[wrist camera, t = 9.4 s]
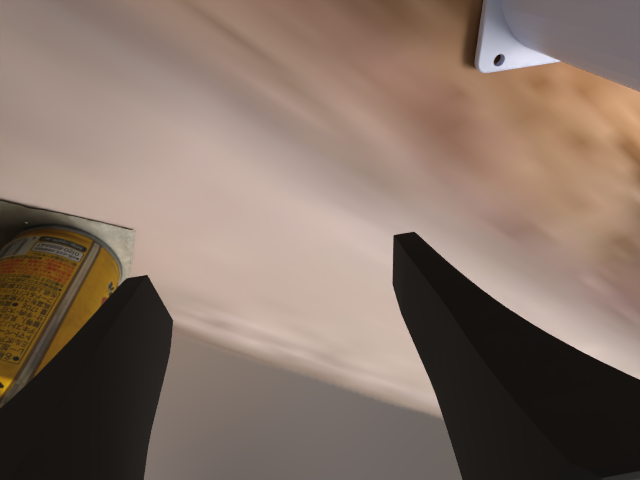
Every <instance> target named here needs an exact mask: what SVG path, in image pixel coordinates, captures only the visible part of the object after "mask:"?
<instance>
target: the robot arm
mask: <svg viewBox="0 0 640 480" xmlns="http://www.w3.org/2000/svg"><path fill="white" fill-rule="evenodd" d="M499 54H500V55H501V58H500V60H499V61H498V63H496V64H494V59H495V57H496V56H497V55H499ZM556 62H564V63H567V64H569V65H572V66H575V67H577V68H580V69H582V70H585V71H588V72H590V73H593V74H595V75H598V76H600V77H603V78H606V79H608V80H611V81H613V82H616V83H619V84H621V85H624V86H626V87H629V88H631V89H634V90H637V91H639V92H640V0H483V6H482V13H481V20H480V27H479V34H478V41H477V48H476V55H475V67H476V69H477V70H478V71H480V72H482V73H490V72H497V71H503V70H510V69H517V68H523V67H530V66H536V65H543V64H549V63H556ZM393 287H394V291H395V294H396V298H397V301H398V304H399V308H400V311H401V314H402V316H403V319H404V321H405V324H406V326H407V328H408V331H409V333H410V335H411V337H412V340H413V342H414V344H415V347H416V349H417V351H418V353H419V356H420V358H421V360H422V363H423V365H424V367H425V369H426V372H427V374H428V376H429V379H430V381H431V384H432V386H433V389H434V391H435V394H436V397H437V400H438V403H439V406H440V409H441V412H442V415H443V418H444V421H445V424H446V427H447V430H448V434H449V437H450V440H451V443H452V446H453V450H454V453H455V456H456V459H457V462H458V466H459V469H460V473H461V476H462V479H463V480H640V380H639V379H637V378H635V377H632V376H630V375H628V374H626V373H624V372H622V371H620V370H618V369H616V368H613V367H611V366H609V365H607V364H605V363H603V362H601V361H599V360H597V359H595V358H593V357H591V356H589V355H587V354H585V353H583V352H581V351H579V350H577V349H576V348H574V347H572V346H570V345H568V344H566V343H565V342H563V341H561V340H559V339H557V338H555V337H554V336H552V335H550V334H548V333H547V332H545V331H543V330H541V329H540V328H538V327H536V326H535V325H533V324H531V323H530V322H528V321H527V320H525V319H524V318H522V317H520V316H519V315H517V314H516V313H514V312H513V311H511V310H509V309H508V308H507V307H505V306H504V305H502V304H501V303H499V302H498V301H497V300H495V299H494V298H492V297H491V296H490V295H488V294H487V293H486V292H484V291H483V290H482V289H480V288H479V287H478V286H477V285H475V284H474V283H473V282H471V281H470V280H469V279H468V278H467V277H465V276H464V275H463V274H462V273H460V272H459V271H458V270H457V269H456V268H454V267H453V266H452V265H451V264H450V263H449V262H447V261H446V260H445V259H444V258H443V257H442V256H441V255H439V254H438V253H437V252H436V251H435V250H434V249H433V248H432V247H431V246H430V245H428V244H427V243H426V242H425V241H424V240H423V239H422V238H421V237H420V236H419V235H418V234H416V233H415V232H410V233H404V234H398V235H394V242H393ZM172 326H173V320H172V318H171V316H170V314H169V313H168V311H167V309H166V307H165V306H164V304H163V302H162V300H161V298H160V297H159V295H158V293H157V291H156V290H155V288H154V286H153V284H152V283H151V281H150V279H149V277H148V276H147V275H145V276H139V277H132V278H126V279H125V280H124V281H123V282H122V283H121V284H120V285H119V286H118V287H117V289H116V290H115V291H114V292H113V293H112V294H111V295H110V296H109V297H108V299H107V300H106V301H105V302H104V303H103V304H102V305H101V306H100V308H99V309H98V310H97V311H96V312H95V313H94V314H93V315H92V317H91V318H90V319H89V320H88V321H87V322H86V323H85V324H84V325H83V327H82V328H81V329H80V330H79V331H78V332H77V333H76V334H75V335H74V337H73V338H72V339H71V340H70V341H69V342H68V343H67V344H66V345H65V346H64V347H63V348H62V349H61V350H60V351H59V352H58V353H57V354H56V355H55V356H54V357H53V358H52V359H51V360H50V361H49V362H48V364H47V365H46V366H45V367H44V368H43V369H42V370H41V371H40V372H39V373H38V374H37V375H36V376H35V377H34V378H33V379H32V380H31V381H30V382H29V383H27V384H26V385H25V386H24V387H23V388H22V389H21V390H20V391H19V392H18V393H17V394H16V395H15V396H13V397H12V398H11V399H10V400H9V401H8V402H7V403H6V404H5V405H3V406H2V407H1V408H0V480H144V472H145V465H146V458H147V450H148V444H149V439H150V434H151V429H152V425H153V421H154V416H155V413H156V409H157V405H158V401H159V396H160V392H161V388H162V384H163V380H164V376H165V372H166V367H167V363H168V358H169V354H170V347H171V338H172Z"/></svg>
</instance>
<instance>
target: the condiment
mask: <svg viewBox="0 0 640 480" xmlns="http://www.w3.org/2000/svg"><path fill="white" fill-rule="evenodd" d="M25 222H28V224H26V223H25ZM135 232H136V231H132V230H128V229H124V228H120V227H116V226H112V225H108V224H104V223H100V222H95V221H89V220H87V219H83V218H79V217H75V216H67V215H65V214H61V213H54V212H48V211H46V210H36V209H30V208H26V207H24V206H20V205H16V204H10V203H7V202H4V201H0V408H1V407H2V406H3V405H5V404H6V403H7V402H8V401H9V400H10V399H11V398H12V397H13V396H15V395H16V394H17V393H18V392H19V391H20V390H21V389H22V388H23V387H24V386H25V385H26V384H27V383H29V382H30V381H31V380H32V379H33V378H34V377H35V376H36V375H37V374H38V373H39V372H40V371H41V370H42V369H43V368H44V367H45V366H46V365H47V364H48V362H49V361H50V360H51V359H52V358H53V357H54V356H55V355H56V354H57V353H58V352H59V351H60V350H61V349H62V348H63V347H64V346H65V345H66V344H67V343H68V342H69V341H70V340H71V339H72V338H73V337H74V335H75V334H76V333H77V332H78V331H79V330H80V329H81V328H82V327H83V325H84V324H85V323H86V322H87V321H88V320H89V319H90V318H91V317H92V315H93V314H94V313H95V312H96V311H97V310H98V309H99V308H100V306H101V305H102V304H103V303H104V302H105V301H106V300H107V299H108V297H109V296H110V295H111V294H112V293H113V292H114V291H115V290H116V289H117V287H118V286H119V285H120V284H121V283H122V282H123V281H124V280H125V279H126V278H129V272H130V265H131V259H132V250H133V244H134V238H135Z"/></svg>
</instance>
